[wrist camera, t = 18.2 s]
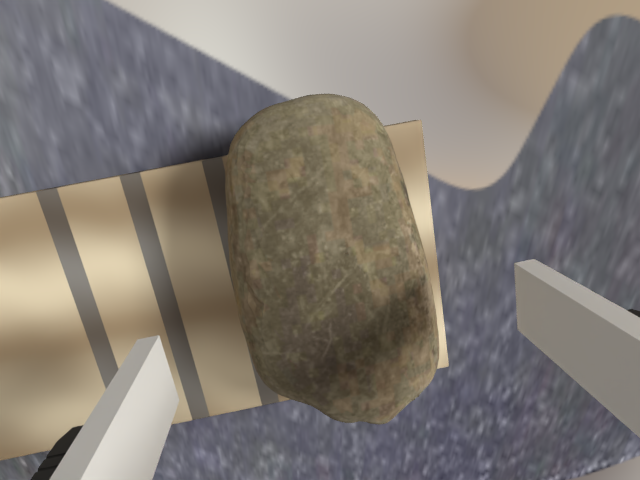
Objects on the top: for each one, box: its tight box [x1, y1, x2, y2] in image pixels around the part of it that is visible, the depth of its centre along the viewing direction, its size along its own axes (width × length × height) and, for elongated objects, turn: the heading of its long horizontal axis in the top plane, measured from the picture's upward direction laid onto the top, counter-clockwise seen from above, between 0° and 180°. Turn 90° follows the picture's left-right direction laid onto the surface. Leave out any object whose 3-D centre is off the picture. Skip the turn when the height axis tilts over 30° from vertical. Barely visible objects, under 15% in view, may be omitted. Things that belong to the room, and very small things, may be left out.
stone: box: [225, 94, 439, 424], centre depth 20 cm, size 9×14×10 cm, turn 12°
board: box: [0, 120, 449, 460], centre depth 24 cm, size 14×26×1 cm, turn 100°
